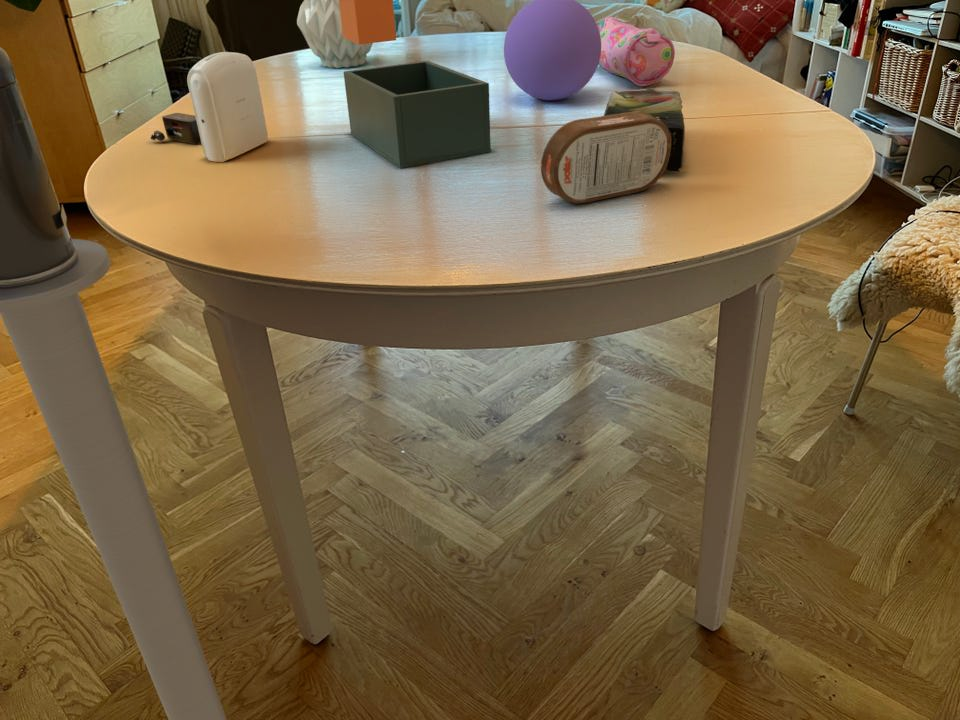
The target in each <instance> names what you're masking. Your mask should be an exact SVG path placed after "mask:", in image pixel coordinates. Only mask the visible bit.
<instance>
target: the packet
mask: <svg viewBox="0 0 960 720" xmlns="http://www.w3.org/2000/svg"><path fill="white" fill-rule="evenodd" d="M339 7H340V16H341V24H342V32H343V38H345V39H347V40H350V41H352V42H355V43H357V44H359V45H360V44H369V43H373V44H376V43H377V44H378V43H384V42H393V41H397V33H396V19H395V8H394V0H339Z"/></svg>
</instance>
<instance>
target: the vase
mask: <svg viewBox="0 0 960 720" xmlns="http://www.w3.org/2000/svg"><path fill="white" fill-rule="evenodd" d="M296 25H297V27H298V29H299V31H300V32H301V34H302V36H303V37H304V40H305V41H306V43H307V46H308V47H309V48H310V50H311V51H312V54H313V55H314V56H316V57H318V58H319V59H320V62H321V65H322V67H325V68H329V69H332V68H333V69H334V68H336V69H340V68H348V69H349V68H351V67H358V66H362V65H364V64H365V63H366V62H367V54H369V53H370V52H371V49H372V47H373V44H374V43H369V44H360V45H359V44H357V43H355V42H352V41H350V40H347V39H345V38H343V32H342V24H341V16H340V7H339V0H303V1H302V3H301V4H300V7H299V10H298V15H297V18H296Z"/></svg>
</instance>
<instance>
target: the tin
mask: <svg viewBox="0 0 960 720" xmlns="http://www.w3.org/2000/svg"><path fill="white" fill-rule="evenodd" d="M671 154H672V134H670V132H669V130H668V128H667V127H666V126H665V125H664V124H663V123H662V122H661V121H659V120H658V119H656V118H654V117H652V116H651V115H649V114H648V113H645V112H641V111H634V112H628V113H621V114H614V115H607V116H604V115H601V116H595V117H593V116H592V117H585V118H580V119H579V118H578V119H575V120H572V121H569V122H566V124H564V125H562V126H561V127H560V128H559V129H557V130H556V131H555V132H554V133H553V134H552V135H551V137H550V138H549V140H548V141H547V143H546V145H545V147H544V149H543V152H542V156H541V159H540V173H541V174H540V175H541V179H542V182H543V183H544V185H545V187H546V188H547V189H548V191H549V192H550V193H552V194H553V195H555V196H557V197H558V198H560V199H562V200H563V201H566V202H568V203H571V204H578V205H579V204H586V203H591V202H597V201H601V200H606V199H610V198H616V197H621V196H626V195H627V196H628V195H630V194H637V193H640V192H643V191H646V190H647V189H649V188H651V187H652V186H653V185H654V184H655V183H657V182H658V181H659V180H660V178H661V177H662V176H663V174H664V173H665V171H666V167H667V164H668V161H669V157H670V155H671Z"/></svg>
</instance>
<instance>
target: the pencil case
mask: <svg viewBox="0 0 960 720" xmlns="http://www.w3.org/2000/svg"><path fill="white" fill-rule="evenodd" d="M597 26H598V29H599V32H600V37H601V55H600V60H599V64H598V66H600V67H602V68H604V70H606V71H607V72H609V73H611V74H614V75H616V76H620V77H622V78H625V79H627V80H629V81H630V82H631V83H633V84H634V85H636V86H638V87H648V86H650V85H653V84H656V83H657V82H660V81H661V80H662V79H663V78H664V77H665V76H667V74H668V73H670V71H671V68H672V67H673V64H674V61H675V54H676V50H675V45H674V44H673V43H674V42H673V41H672V40H671V38H670V37H668V36H666V35H665V34H664V33H662V32H661V31H659V30H656V29H654V27H648V28H639V27H637V26H635V25H633V24H630V23H629V21H627V20H625V19H623V18H620V16H618V15H615V16H609V17H604V18H603V20H602V21H600V23H597Z"/></svg>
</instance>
